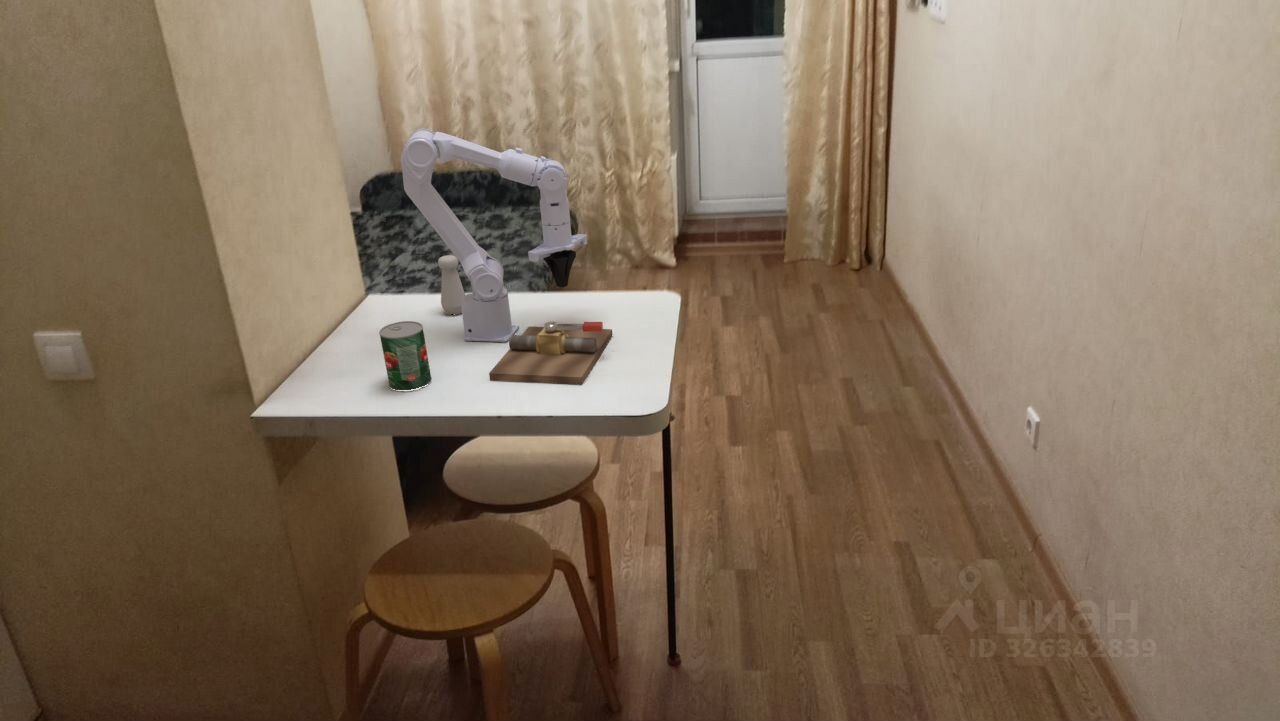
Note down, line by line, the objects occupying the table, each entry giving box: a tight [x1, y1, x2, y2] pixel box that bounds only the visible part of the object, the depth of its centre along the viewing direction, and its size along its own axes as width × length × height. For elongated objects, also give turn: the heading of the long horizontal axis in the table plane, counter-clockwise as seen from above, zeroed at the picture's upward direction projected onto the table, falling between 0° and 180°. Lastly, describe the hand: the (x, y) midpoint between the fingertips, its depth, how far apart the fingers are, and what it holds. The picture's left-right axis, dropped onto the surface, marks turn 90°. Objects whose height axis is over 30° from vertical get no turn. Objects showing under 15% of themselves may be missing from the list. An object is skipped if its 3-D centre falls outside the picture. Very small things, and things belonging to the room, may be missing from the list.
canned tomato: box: [379, 320, 433, 390], centre depth 172 cm, size 8×8×11 cm
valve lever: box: [544, 321, 604, 332], centre depth 178 cm, size 2×11×1 cm, turn 84°
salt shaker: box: [437, 254, 466, 316], centre depth 205 cm, size 6×6×13 cm
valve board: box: [488, 326, 613, 386], centre depth 180 cm, size 18×23×6 cm
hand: (562, 285), depth 191 cm, fingers closed
